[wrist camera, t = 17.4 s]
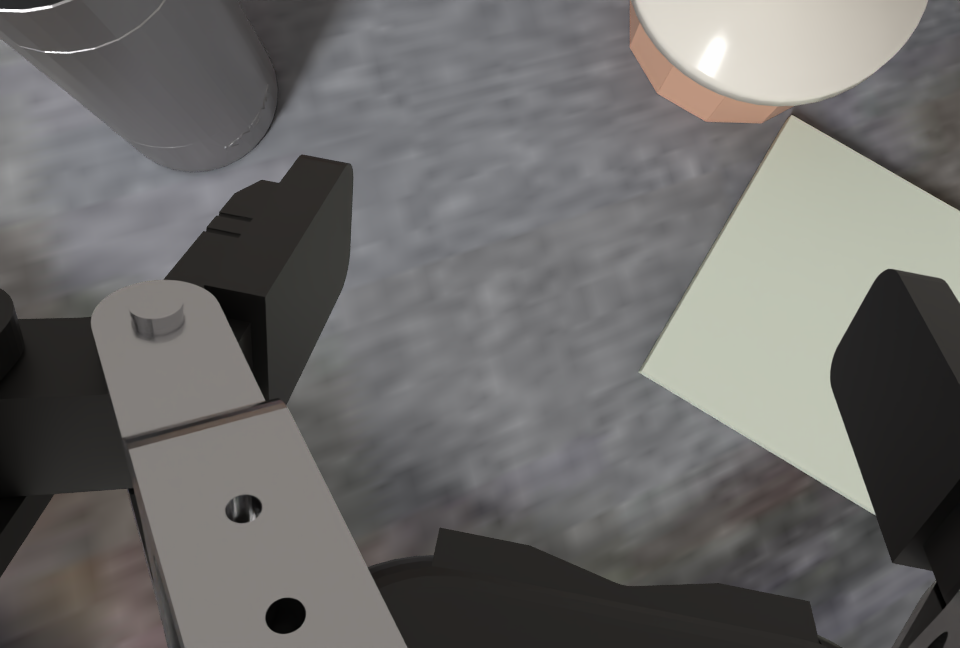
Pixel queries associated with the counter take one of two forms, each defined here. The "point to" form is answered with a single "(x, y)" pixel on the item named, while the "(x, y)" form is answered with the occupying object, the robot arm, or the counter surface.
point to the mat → (798, 296)
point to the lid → (779, 43)
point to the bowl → (691, 85)
